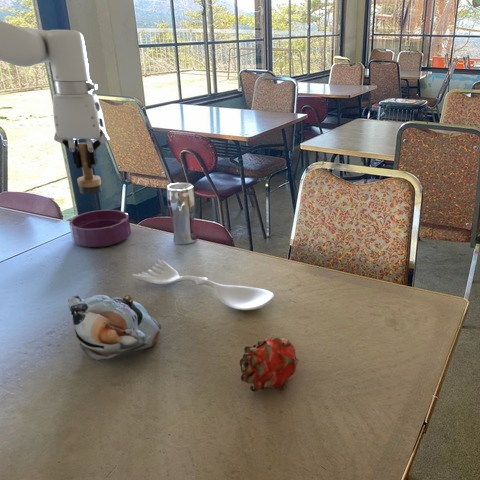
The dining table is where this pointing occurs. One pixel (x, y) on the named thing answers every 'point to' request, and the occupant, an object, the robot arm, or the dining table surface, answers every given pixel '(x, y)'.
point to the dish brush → (87, 174)
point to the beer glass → (182, 212)
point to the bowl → (100, 228)
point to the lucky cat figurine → (112, 325)
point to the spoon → (228, 294)
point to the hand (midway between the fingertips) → (86, 166)
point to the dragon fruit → (268, 364)
